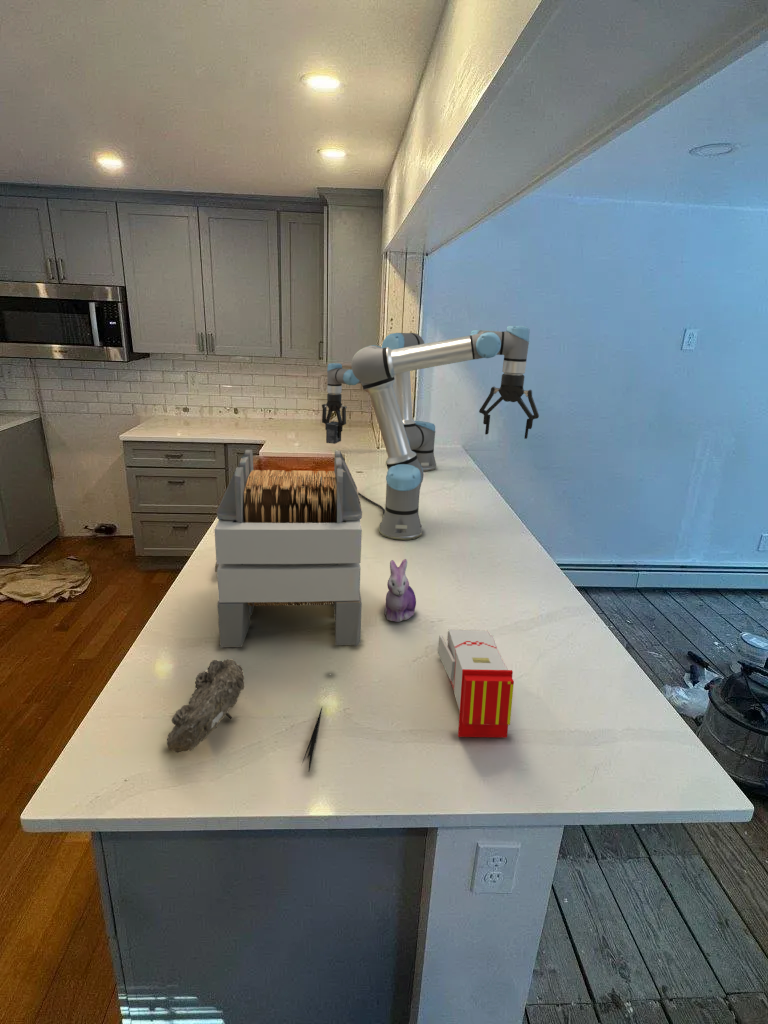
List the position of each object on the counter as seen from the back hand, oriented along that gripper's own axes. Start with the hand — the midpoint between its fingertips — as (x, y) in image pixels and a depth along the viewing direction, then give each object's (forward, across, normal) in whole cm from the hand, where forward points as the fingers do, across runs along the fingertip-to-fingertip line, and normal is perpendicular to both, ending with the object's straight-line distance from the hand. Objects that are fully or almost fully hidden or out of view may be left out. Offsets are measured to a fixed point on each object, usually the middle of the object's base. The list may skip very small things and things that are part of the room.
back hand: (333, 436), depth 306 cm
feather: (+8, -84, +196) cm, 214 cm away
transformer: (+8, -61, +162) cm, 173 cm away
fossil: (+8, -65, +203) cm, 213 cm away
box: (+3, 0, 0) cm, 3 cm away
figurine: (+8, -86, +152) cm, 175 cm away
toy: (+8, -110, +177) cm, 208 cm away
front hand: (-26, -100, +77) cm, 129 cm away
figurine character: (+8, -33, +147) cm, 151 cm away
